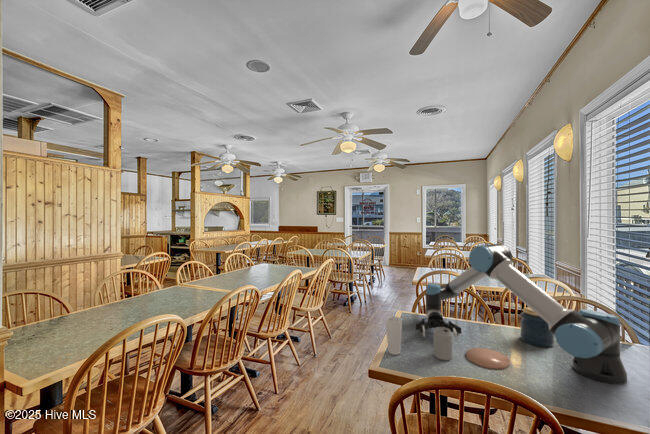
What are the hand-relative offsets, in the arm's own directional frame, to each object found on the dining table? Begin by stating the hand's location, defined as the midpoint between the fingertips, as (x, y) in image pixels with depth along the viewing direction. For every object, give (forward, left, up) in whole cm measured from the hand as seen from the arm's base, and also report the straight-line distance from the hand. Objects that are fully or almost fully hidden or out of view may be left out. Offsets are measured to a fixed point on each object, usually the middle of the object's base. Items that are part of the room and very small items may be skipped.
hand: (440, 335), depth 132 cm
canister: (-10, -48, -7) cm, 50 cm away
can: (-6, +4, -7) cm, 10 cm away
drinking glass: (+5, +21, -7) cm, 22 cm away
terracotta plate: (-14, -12, -6) cm, 20 cm away
